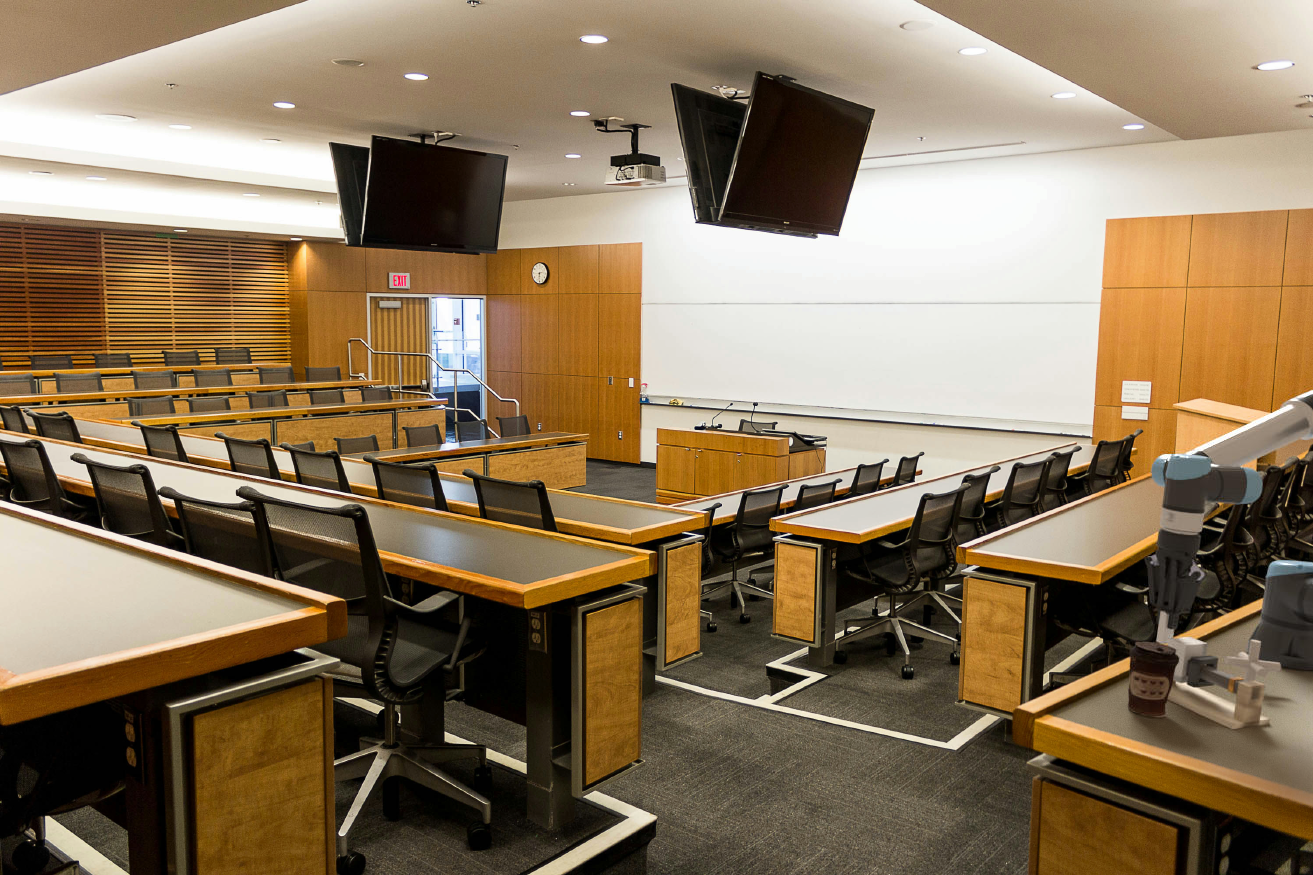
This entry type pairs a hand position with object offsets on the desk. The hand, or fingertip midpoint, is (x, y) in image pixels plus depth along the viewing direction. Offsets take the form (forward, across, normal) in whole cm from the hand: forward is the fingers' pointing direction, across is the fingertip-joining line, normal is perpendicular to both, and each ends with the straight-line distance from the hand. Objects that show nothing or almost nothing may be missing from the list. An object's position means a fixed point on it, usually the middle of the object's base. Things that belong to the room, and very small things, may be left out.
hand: (1164, 642), depth 190 cm
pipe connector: (+9, +5, +20) cm, 23 cm away
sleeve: (+6, +5, 0) cm, 8 cm away
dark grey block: (+6, +9, 0) cm, 11 cm away
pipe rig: (+9, +10, 0) cm, 14 cm away
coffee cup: (+9, +10, -15) cm, 20 cm away
